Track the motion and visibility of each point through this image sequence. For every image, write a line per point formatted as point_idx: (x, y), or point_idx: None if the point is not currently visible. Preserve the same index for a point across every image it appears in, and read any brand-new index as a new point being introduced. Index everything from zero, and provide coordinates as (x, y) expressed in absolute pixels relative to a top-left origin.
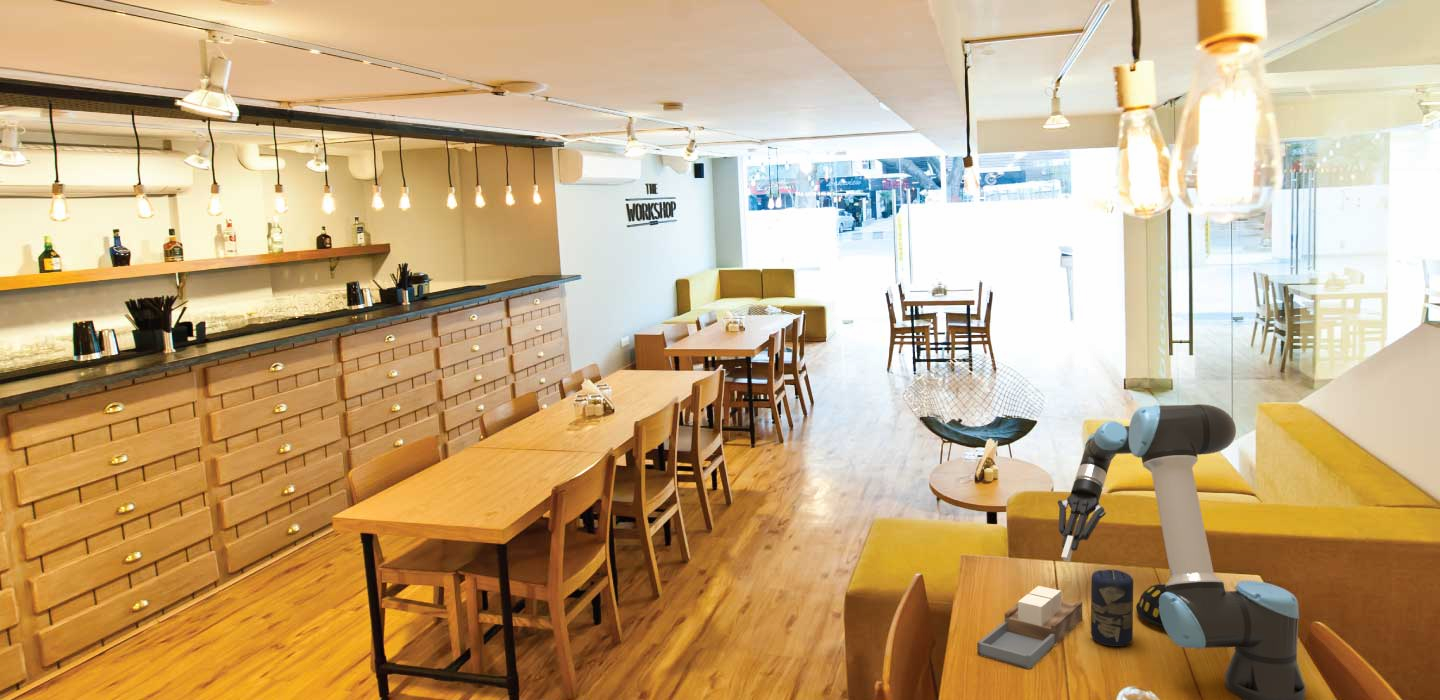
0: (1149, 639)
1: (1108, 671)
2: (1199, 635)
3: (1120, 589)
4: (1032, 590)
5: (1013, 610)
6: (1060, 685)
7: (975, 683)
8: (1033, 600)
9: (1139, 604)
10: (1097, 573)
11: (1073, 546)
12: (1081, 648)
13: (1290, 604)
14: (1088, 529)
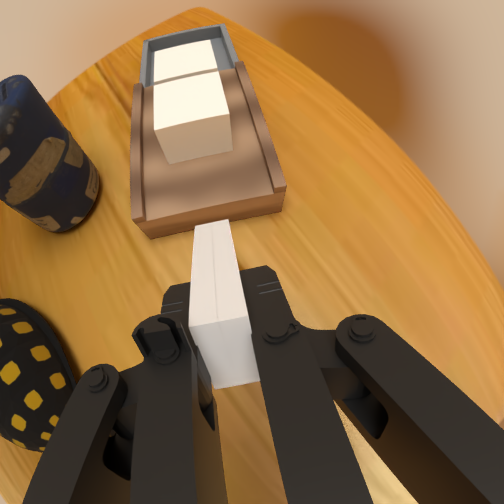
0: (26, 258)
1: (59, 118)
2: None
3: None
4: (221, 84)
5: (239, 76)
6: (103, 60)
7: (185, 15)
8: (184, 56)
9: (56, 365)
10: (11, 86)
11: (180, 292)
12: (104, 135)
13: None
14: (53, 430)
